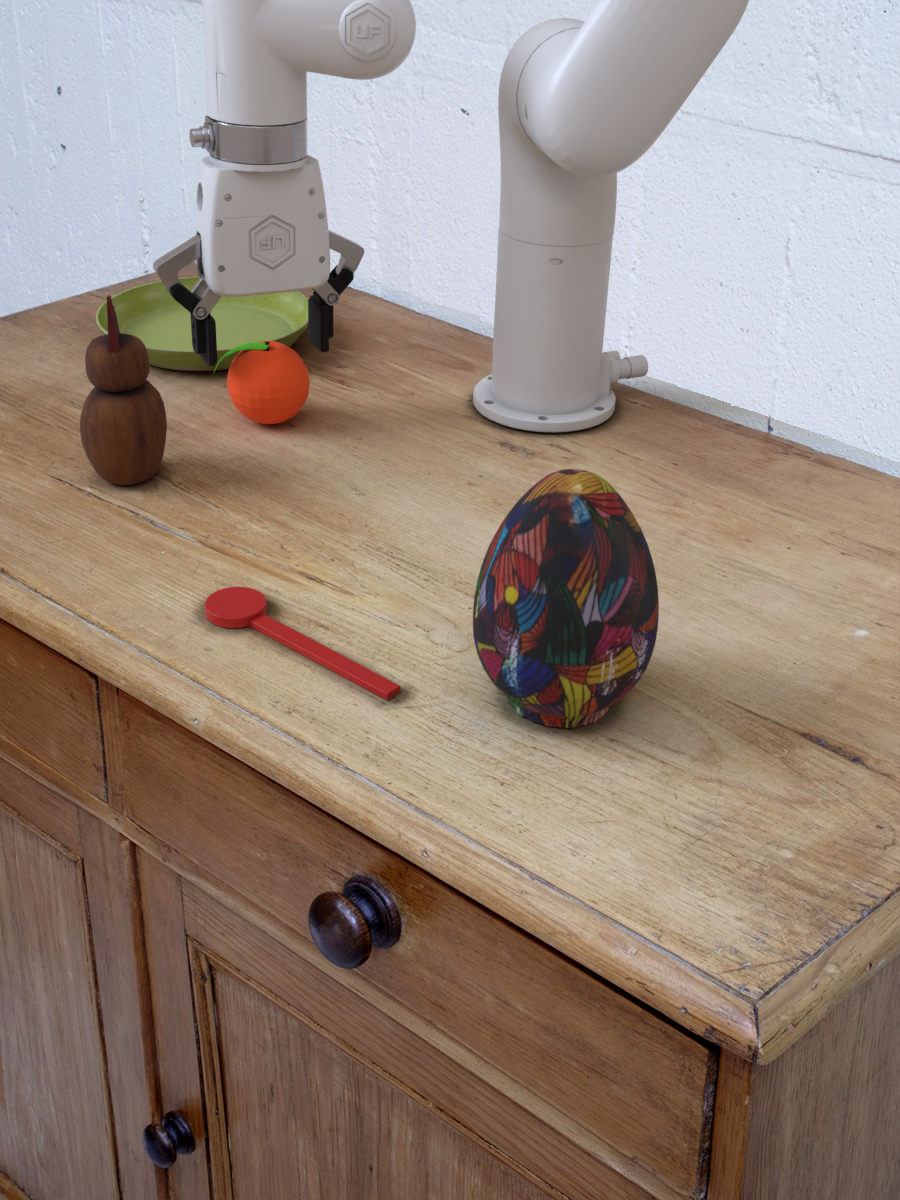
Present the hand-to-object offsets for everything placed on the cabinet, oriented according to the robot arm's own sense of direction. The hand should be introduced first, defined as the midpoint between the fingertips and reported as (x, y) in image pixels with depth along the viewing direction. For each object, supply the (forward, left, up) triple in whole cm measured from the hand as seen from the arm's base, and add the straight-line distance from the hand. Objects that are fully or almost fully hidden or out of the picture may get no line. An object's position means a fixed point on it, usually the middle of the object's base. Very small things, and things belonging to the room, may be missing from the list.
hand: (264, 353), depth 109 cm
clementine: (0, 0, -6) cm, 6 cm away
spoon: (+9, +34, -6) cm, 36 cm away
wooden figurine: (+13, +6, -6) cm, 16 cm away
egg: (-3, +45, -6) cm, 46 cm away
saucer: (-1, -20, -6) cm, 21 cm away
